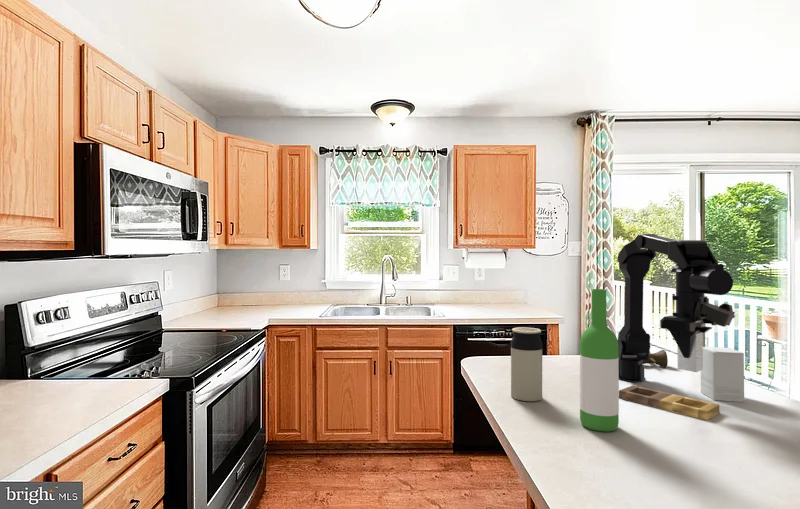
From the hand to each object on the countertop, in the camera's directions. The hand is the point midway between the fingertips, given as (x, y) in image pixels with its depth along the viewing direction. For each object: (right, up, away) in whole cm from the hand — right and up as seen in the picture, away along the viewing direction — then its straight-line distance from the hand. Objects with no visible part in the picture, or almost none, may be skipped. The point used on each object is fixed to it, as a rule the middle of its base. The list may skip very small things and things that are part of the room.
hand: (690, 356), depth 106 cm
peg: (0, -3, 0) cm, 3 cm away
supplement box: (+16, -14, +11) cm, 23 cm away
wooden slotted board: (-3, -13, +4) cm, 14 cm away
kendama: (+17, -14, +48) cm, 53 cm away
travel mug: (-37, -13, +10) cm, 40 cm away
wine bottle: (-26, -13, -10) cm, 31 cm away
